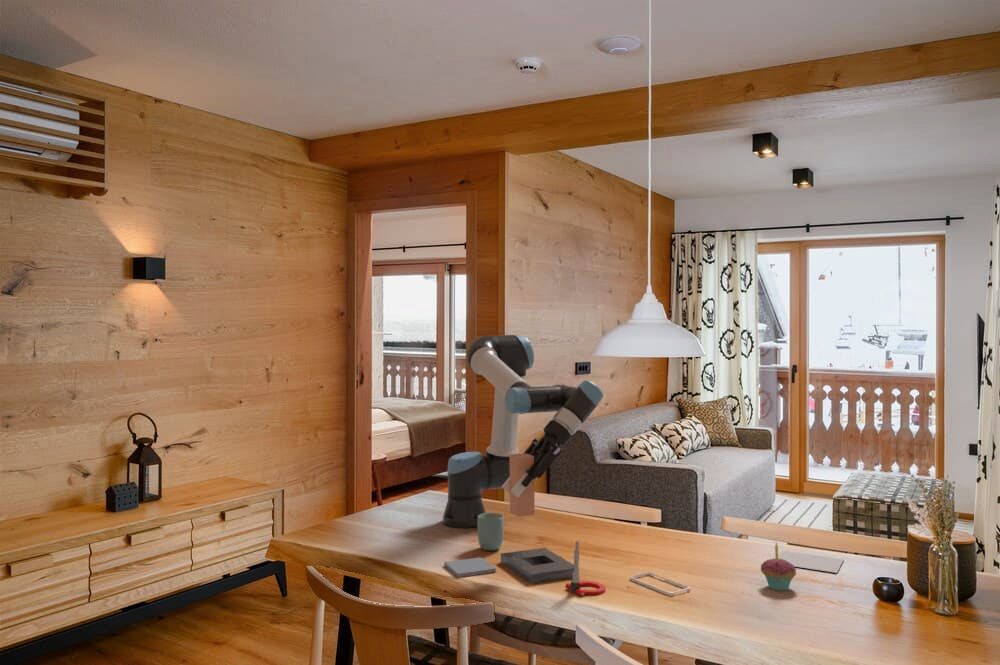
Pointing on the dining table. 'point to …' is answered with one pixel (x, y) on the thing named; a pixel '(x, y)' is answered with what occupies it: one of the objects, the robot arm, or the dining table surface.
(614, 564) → the dining table surface
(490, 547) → the cup
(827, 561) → the paper stack
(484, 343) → the robot arm
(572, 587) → the tow hook
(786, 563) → the cupcake
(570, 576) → the socket block
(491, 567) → the pad
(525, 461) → the peg
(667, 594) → the phone case
